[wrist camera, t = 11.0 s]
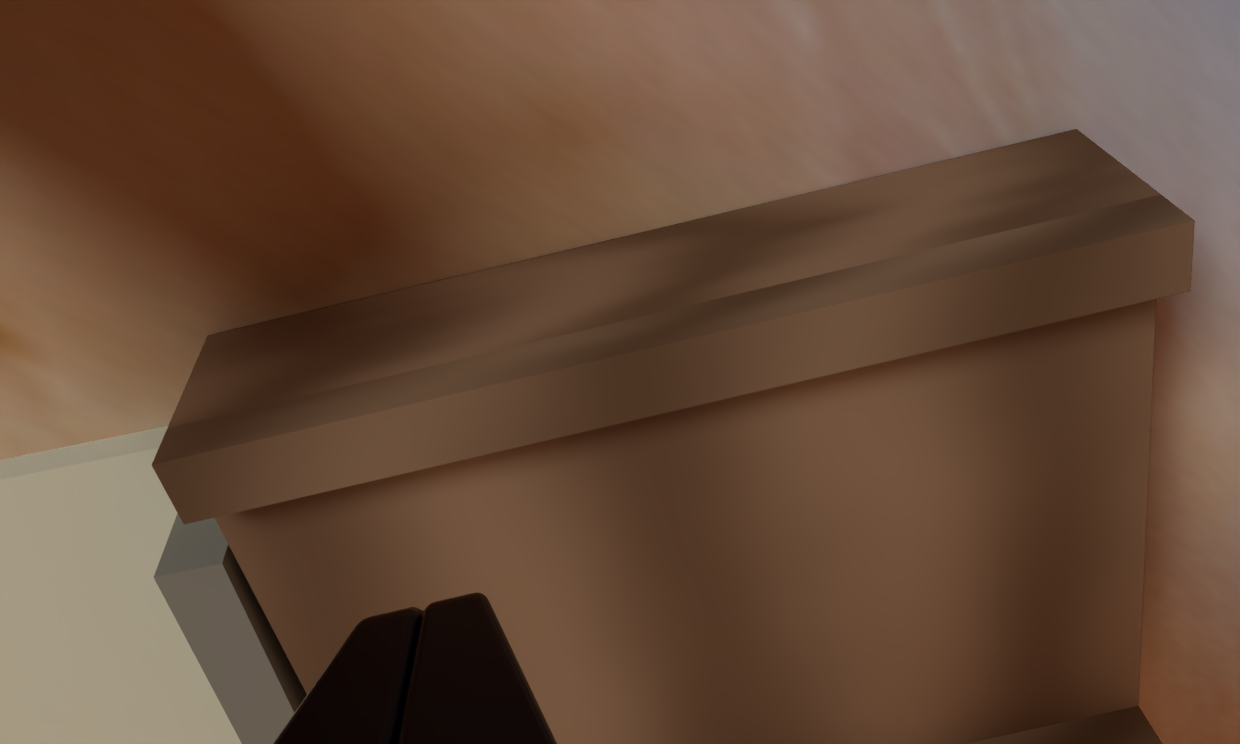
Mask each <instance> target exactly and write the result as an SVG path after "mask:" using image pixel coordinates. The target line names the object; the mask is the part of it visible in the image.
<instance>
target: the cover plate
mask: <svg viewBox="0 0 1240 744" xmlns="http://www.w3.org/2000/svg"><path fill="white" fill-rule="evenodd" d="M167 428H168V426H166V427H161V428H156V429H151V430H146V431H141V432H137V433H132V434H127V435H122V436H117V437H112V438H107V439H102V440H97V441H92V442H87V443H82V444H77V445H72V446H67V447H62V448H57V449H52V450H47V451H42V452H37V453H32V454H27V455H22V456H17V457H12V458H8V459H3V460H0V744H273V742H274V741H275V740H276V738H277V737H278V735H279V734H280V733H281V731H282V730H283V728H284V727H285V725H286V724H287V723H288V721H289V720H290V718H291V717H292V715H293V714H294V713H295V711H296V710H297V708H298V707H299V706H300V704H301V703H302V701H303V700H304V698H305V697H306V696H307V694H306V692H305V690H304V688H303V686H302V684H301V682H300V680H299V678H298V676H297V674H296V673H295V671H294V669H293V667H292V665H291V663H290V661H289V659H288V657H287V655H286V653H285V652H284V650H283V648H282V646H281V644H280V642H279V640H278V638H277V636H276V634H275V632H274V631H273V629H272V627H271V625H270V623H269V621H268V619H267V617H266V615H265V613H264V611H263V610H262V608H261V606H260V604H259V602H258V600H257V598H256V596H255V594H254V592H253V590H252V589H251V587H250V585H249V583H248V581H247V579H246V577H245V575H244V573H243V571H242V569H241V568H240V566H239V564H238V562H237V560H236V558H235V556H234V554H233V552H232V550H231V548H230V547H229V545H228V543H227V541H226V539H225V537H224V535H223V533H222V531H221V529H220V527H219V526H218V524H217V522H216V520H215V518H211V519H206V520H202V521H198V522H194V523H189V524H185V525H184V524H183V522H182V520H181V518H180V517H179V515H178V513H177V511H176V509H175V507H174V506H173V504H172V502H171V500H170V498H169V496H168V495H167V493H166V491H165V489H164V487H163V485H162V484H161V482H160V480H159V478H158V476H157V474H156V473H155V471H154V469H153V467H152V463H153V460H154V458H155V456H156V453H157V451H158V449H159V447H160V444H161V442H162V440H163V437H164V435H165V433H166V430H167Z"/></svg>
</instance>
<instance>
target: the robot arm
mask: <svg viewBox="0 0 1240 744" xmlns="http://www.w3.org/2000/svg"><path fill="white" fill-rule="evenodd" d="M273 744H557V742H556V740H555V738H554V736H553V734H552V732H551V730H550V728H549V726H548V723H547V721H546V719H545V717H544V715H543V713H542V711H541V709H540V707H539V705H538V702H537V700H536V698H535V696H534V694H533V692H532V690H531V688H530V686H529V684H528V682H527V679H526V677H525V675H524V673H523V671H522V669H521V667H520V665H519V663H518V661H517V658H516V656H515V654H514V652H513V650H512V648H511V646H510V644H509V642H508V640H507V637H506V635H505V633H504V631H503V629H502V627H501V625H500V623H499V621H498V619H497V617H496V614H495V612H494V610H493V608H492V606H491V604H490V602H489V600H488V598H487V597H486V596H485V595H484V594H482V593H479V592H477V593H471V594H466V595H462V596H458V597H453V598H449V599H444V600H440V601H436V602H433V603H430V604H429V605H428V606H427V607H426V608H425V609H424V611H423V610H421V609H419V608H416V607H409V608H405V609H401V610H396V611H392V612H387V613H383V614H379V615H374V616H370V617H368V618H365V619H363V620H362V621H361V622H359V623H358V624H357V625H356V626H355V628H354V629H353V630H352V632H351V633H350V634H349V636H348V637H347V639H346V640H345V642H344V643H343V644H342V646H341V647H340V649H339V650H338V652H337V653H336V654H335V656H334V657H333V659H332V660H331V661H330V663H329V664H328V666H327V667H326V669H325V670H324V671H323V673H322V674H321V676H320V677H319V679H318V680H317V681H316V683H315V684H314V686H313V687H312V688H311V690H310V691H309V693H308V694H307V696H306V697H305V698H304V700H303V701H302V703H301V704H300V706H299V707H298V708H297V710H296V711H295V713H294V714H293V715H292V717H291V718H290V720H289V721H288V723H287V724H286V725H285V727H284V728H283V730H282V731H281V733H280V734H279V735H278V737H277V738H276V740H275V741H274V742H273Z"/></svg>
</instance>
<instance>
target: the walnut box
mask: <svg viewBox="0 0 1240 744" xmlns="http://www.w3.org/2000/svg"><path fill="white" fill-rule="evenodd" d="M1194 223H1195V221H1194V220H1193V219H1192V218H1191V217H1189V216H1188V215H1187V214H1185V213H1184V212H1183V211H1181V210H1180V209H1179V208H1178V207H1176V206H1175V205H1174V204H1172V203H1171V202H1170V201H1169V200H1167V199H1166V198H1165V197H1163V196H1162V195H1161V194H1160V193H1158V192H1157V191H1156V190H1154V189H1153V188H1152V187H1151V186H1149V185H1148V184H1147V183H1145V182H1144V181H1143V180H1142V179H1140V178H1139V177H1138V176H1136V175H1135V174H1134V173H1132V172H1131V171H1130V170H1129V169H1127V168H1126V167H1125V166H1123V165H1122V164H1121V163H1120V162H1118V161H1117V160H1116V159H1114V158H1113V157H1112V156H1111V155H1109V154H1108V153H1107V152H1105V151H1104V150H1103V149H1102V148H1100V147H1099V146H1098V145H1096V144H1095V143H1094V142H1093V141H1091V140H1090V139H1089V138H1087V137H1086V136H1085V135H1083V134H1082V133H1081V132H1080V131H1078V130H1077V129H1075V130H1071V131H1067V132H1063V133H1058V134H1054V135H1050V136H1046V137H1042V138H1037V139H1033V140H1029V141H1025V142H1021V143H1016V144H1012V145H1008V146H1004V147H1000V148H995V149H991V150H987V151H983V152H978V153H974V154H970V155H966V156H962V157H957V158H953V159H949V160H945V161H941V162H936V163H932V164H928V165H924V166H920V167H915V168H911V169H907V170H903V171H899V172H894V173H890V174H886V175H882V176H877V177H873V178H869V179H865V180H861V181H856V182H852V183H848V184H844V185H840V186H835V187H831V188H827V189H823V190H819V191H814V192H810V193H806V194H802V195H797V196H793V197H789V198H785V199H781V200H776V201H772V202H768V203H764V204H760V205H755V206H751V207H747V208H743V209H739V210H734V211H730V212H726V213H722V214H718V215H713V216H709V217H705V218H701V219H696V220H692V221H688V222H684V223H680V224H675V225H671V226H667V227H663V228H659V229H654V230H650V231H646V232H642V233H638V234H633V235H629V236H625V237H621V238H616V239H612V240H608V241H604V242H600V243H595V244H591V245H587V246H583V247H579V248H574V249H570V250H566V251H562V252H558V253H553V254H549V255H545V256H541V257H537V258H532V259H528V260H524V261H520V262H515V263H511V264H507V265H503V266H499V267H494V268H490V269H486V270H482V271H478V272H473V273H469V274H465V275H461V276H457V277H452V278H448V279H444V280H440V281H435V282H431V283H427V284H423V285H419V286H414V287H410V288H406V289H402V290H398V291H393V292H389V293H385V294H381V295H377V296H372V297H368V298H364V299H360V300H356V301H351V302H347V303H343V304H339V305H334V306H330V307H326V308H322V309H318V310H313V311H309V312H305V313H301V314H297V315H292V316H288V317H284V318H280V319H276V320H271V321H267V322H263V323H259V324H254V325H250V326H246V327H242V328H238V329H233V330H229V331H225V332H221V333H217V334H212V335H208V336H207V338H206V341H205V343H204V345H203V348H202V350H201V352H200V355H199V357H198V359H197V361H196V364H195V366H194V368H193V371H192V373H191V375H190V378H189V380H188V382H187V384H186V387H185V389H184V391H183V394H182V396H181V398H180V401H179V403H178V405H177V407H176V410H175V412H174V414H173V417H172V419H171V421H170V424H169V426H168V428H167V430H166V433H165V435H164V437H163V440H162V442H161V444H160V447H159V449H158V451H157V453H156V456H155V458H154V460H153V463H152V467H153V469H154V471H155V473H156V474H157V476H158V478H159V480H160V482H161V484H162V485H163V487H164V489H165V491H166V493H167V495H168V496H169V498H170V500H171V502H172V504H173V506H174V507H175V509H176V511H177V513H178V515H179V517H180V518H181V520H182V522H183V524H184V525H185V524H189V523H194V522H198V521H202V520H206V519H211V518H215V520H216V522H217V524H218V526H219V527H220V529H221V531H222V533H223V535H224V537H225V539H226V541H227V543H228V545H229V547H230V548H231V550H232V552H233V554H234V556H235V558H236V560H237V562H238V564H239V566H240V568H241V569H242V571H243V573H244V575H245V577H246V579H247V581H248V583H249V585H250V587H251V589H252V590H253V592H254V594H255V596H256V598H257V600H258V602H259V604H260V606H261V608H262V610H263V611H264V613H265V615H266V617H267V619H268V621H269V623H270V625H271V627H272V629H273V631H274V632H275V634H276V636H277V638H278V640H279V642H280V644H281V646H282V648H283V650H284V652H285V653H286V655H287V657H288V659H289V661H290V663H291V665H292V667H293V669H294V671H295V673H296V674H297V676H298V678H299V680H300V682H301V684H302V686H303V688H304V690H305V692H306V694H308V693H309V691H310V690H311V688H312V687H313V686H314V684H315V683H316V681H317V680H318V679H319V677H320V676H321V674H322V673H323V671H324V670H325V669H326V667H327V666H328V664H329V663H330V661H331V660H332V659H333V657H334V656H335V654H336V653H337V652H338V650H339V649H340V647H341V646H342V644H343V643H344V642H345V640H346V639H347V637H348V636H349V634H350V633H351V632H352V630H353V629H354V628H355V626H356V625H357V624H358V623H359V622H361V621H362V620H363V619H365V618H368V617H370V616H374V615H379V614H383V613H387V612H392V611H396V610H401V609H405V608H409V607H416V608H419V609H421V610H423V611H424V609H425V608H426V607H427V606H428V605H429V604H430V603H433V602H436V601H440V600H444V599H449V598H453V597H458V596H462V595H466V594H471V593H477V592H479V593H482V594H484V595H485V596H486V597H487V598H488V600H489V602H490V604H491V606H492V608H493V610H494V612H495V614H496V617H497V619H498V621H499V623H500V625H501V627H502V629H503V631H504V633H505V635H506V637H507V640H508V642H509V644H510V646H511V648H512V650H513V652H514V654H515V656H516V658H517V661H518V663H519V665H520V667H521V669H522V671H523V673H524V675H525V677H526V679H527V682H528V684H529V686H530V688H531V690H532V692H533V694H534V696H535V698H536V700H537V702H538V705H539V707H540V709H541V711H542V713H543V715H544V717H545V719H546V721H547V723H548V726H549V728H550V730H551V732H552V734H553V736H554V738H555V740H556V742H557V744H1162V743H1161V741H1160V739H1159V738H1158V736H1157V735H1156V733H1155V731H1154V730H1153V728H1152V727H1151V725H1150V724H1149V722H1148V720H1147V719H1146V717H1145V716H1144V714H1143V712H1142V711H1141V709H1140V708H1139V706H1138V703H1139V680H1140V658H1141V635H1142V612H1143V589H1144V567H1145V544H1146V521H1147V498H1148V476H1149V453H1150V430H1151V407H1152V385H1153V362H1154V339H1155V316H1156V299H1158V298H1162V297H1166V296H1170V295H1175V294H1179V293H1183V292H1188V291H1190V287H1191V271H1192V255H1193V239H1194Z"/></svg>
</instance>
